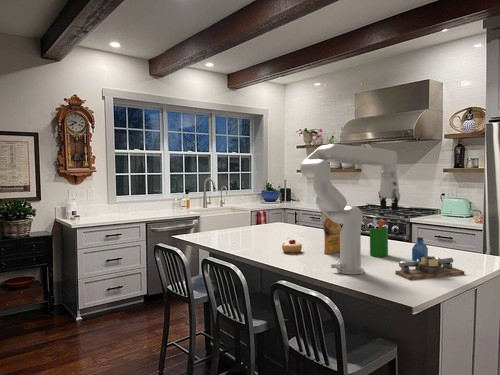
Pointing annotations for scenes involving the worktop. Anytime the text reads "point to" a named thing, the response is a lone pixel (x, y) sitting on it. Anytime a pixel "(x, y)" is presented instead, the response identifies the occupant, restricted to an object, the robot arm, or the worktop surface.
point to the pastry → (291, 247)
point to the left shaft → (409, 265)
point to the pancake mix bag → (331, 235)
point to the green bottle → (379, 241)
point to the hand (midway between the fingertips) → (388, 209)
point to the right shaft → (445, 262)
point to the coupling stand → (429, 272)
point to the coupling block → (429, 262)
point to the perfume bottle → (419, 249)
